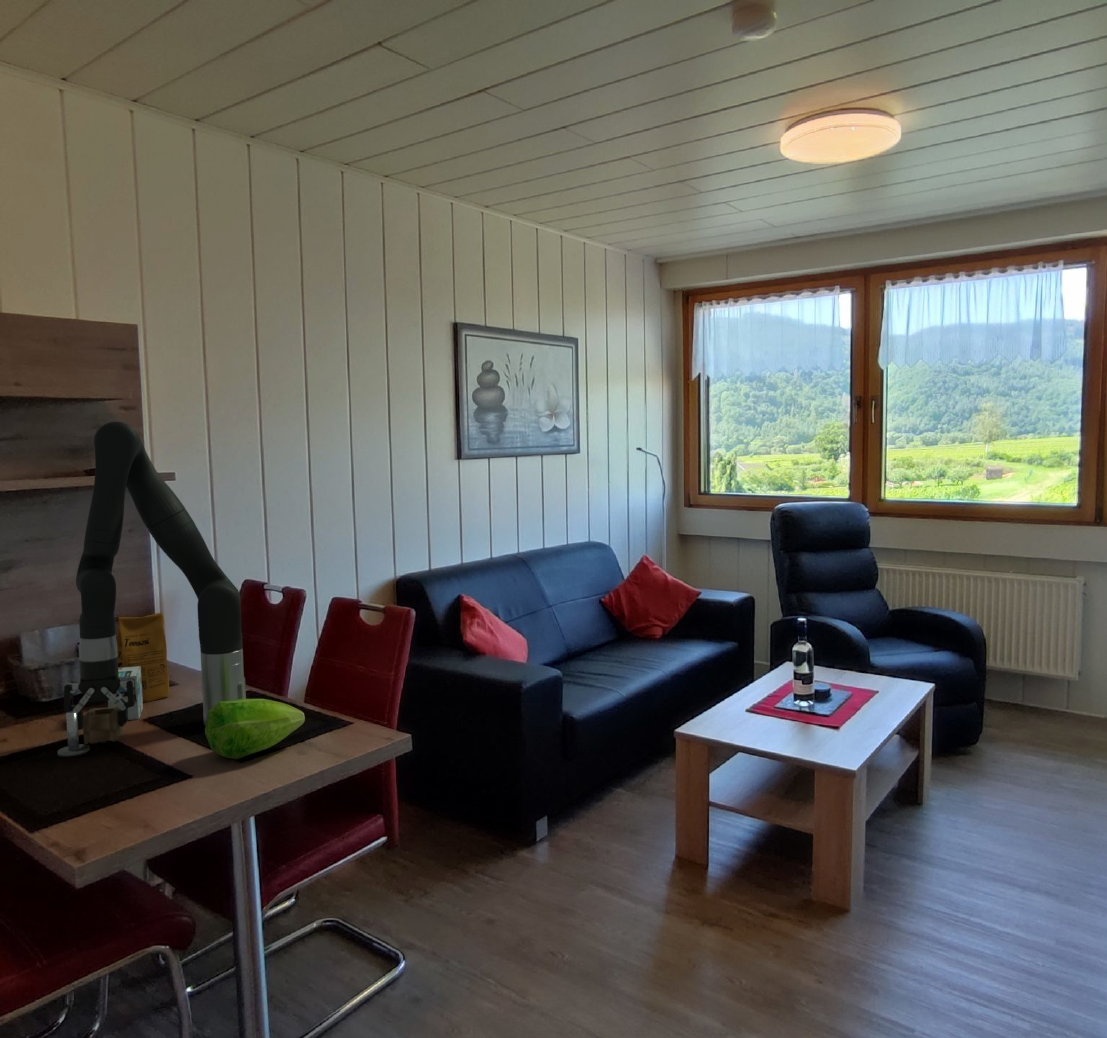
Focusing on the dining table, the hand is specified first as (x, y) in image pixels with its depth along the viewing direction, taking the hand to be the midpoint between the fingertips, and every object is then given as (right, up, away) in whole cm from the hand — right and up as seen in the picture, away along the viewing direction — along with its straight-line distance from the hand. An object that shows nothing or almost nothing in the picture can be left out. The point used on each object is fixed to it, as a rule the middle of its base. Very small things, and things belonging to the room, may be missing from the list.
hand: (101, 727), depth 187 cm
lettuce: (+39, -3, -10) cm, 40 cm away
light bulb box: (-3, -1, +17) cm, 17 cm away
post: (-1, -3, -9) cm, 9 cm away
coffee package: (-6, 0, +30) cm, 31 cm away
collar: (+1, -2, 0) cm, 2 cm away
